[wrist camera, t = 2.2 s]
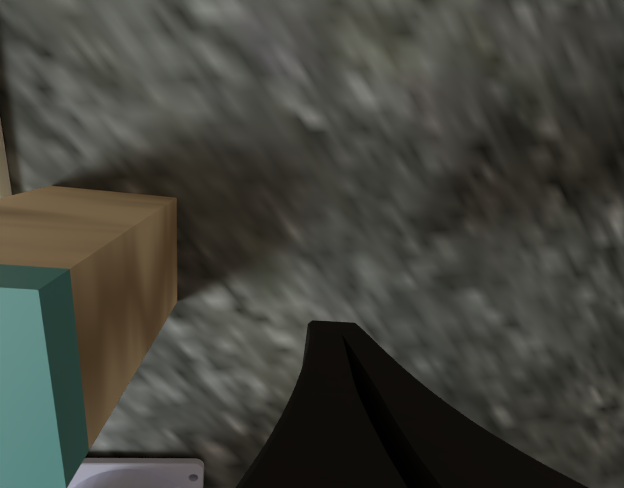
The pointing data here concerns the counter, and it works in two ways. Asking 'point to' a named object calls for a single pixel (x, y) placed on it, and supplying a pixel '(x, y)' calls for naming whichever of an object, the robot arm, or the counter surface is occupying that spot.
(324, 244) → the counter surface
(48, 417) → the wooden block
